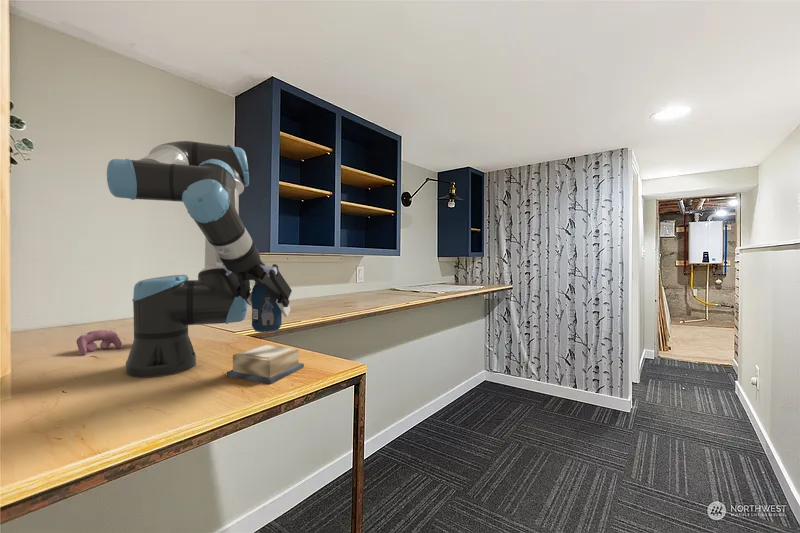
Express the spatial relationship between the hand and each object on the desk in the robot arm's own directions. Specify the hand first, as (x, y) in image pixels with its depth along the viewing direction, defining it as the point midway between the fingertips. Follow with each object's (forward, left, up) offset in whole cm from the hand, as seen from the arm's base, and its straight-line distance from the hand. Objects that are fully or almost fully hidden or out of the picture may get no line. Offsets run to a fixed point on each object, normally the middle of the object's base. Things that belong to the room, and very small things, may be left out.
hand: (274, 311), depth 97 cm
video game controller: (-56, -8, -15) cm, 58 cm away
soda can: (+1, -4, -4) cm, 6 cm away
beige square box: (0, -3, -15) cm, 15 cm away
